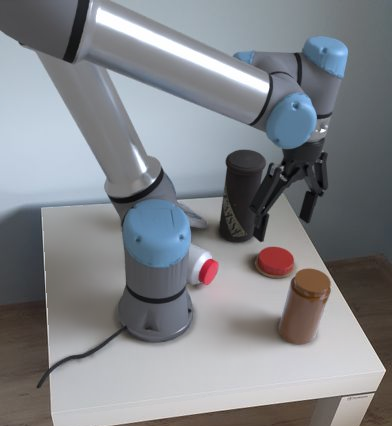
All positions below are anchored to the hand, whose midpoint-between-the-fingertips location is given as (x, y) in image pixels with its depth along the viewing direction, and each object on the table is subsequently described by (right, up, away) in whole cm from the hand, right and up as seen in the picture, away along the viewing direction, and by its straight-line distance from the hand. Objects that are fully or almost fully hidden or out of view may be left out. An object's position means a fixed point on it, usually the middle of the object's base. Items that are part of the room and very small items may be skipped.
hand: (281, 229), depth 113 cm
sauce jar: (+2, -22, -6) cm, 23 cm away
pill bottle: (-24, -5, +2) cm, 25 cm away
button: (-19, +7, +17) cm, 26 cm away
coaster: (0, -7, +8) cm, 10 cm away
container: (-9, +2, +15) cm, 18 cm away
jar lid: (0, -5, +6) cm, 8 cm away
